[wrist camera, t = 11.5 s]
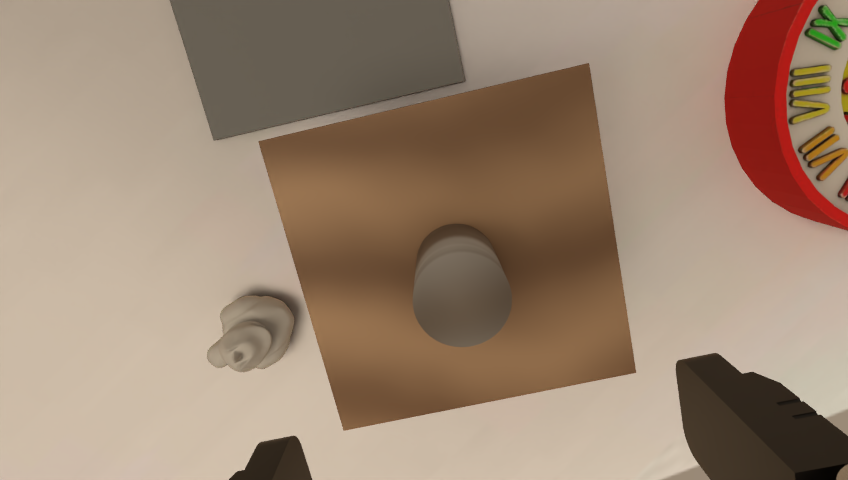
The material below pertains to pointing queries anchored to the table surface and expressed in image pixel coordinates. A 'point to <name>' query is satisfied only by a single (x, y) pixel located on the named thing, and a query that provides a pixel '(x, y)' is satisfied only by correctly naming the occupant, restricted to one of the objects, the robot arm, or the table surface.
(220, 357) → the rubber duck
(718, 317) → the table surface
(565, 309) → the walnut lid
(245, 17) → the charcoal mat
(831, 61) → the toy clock
